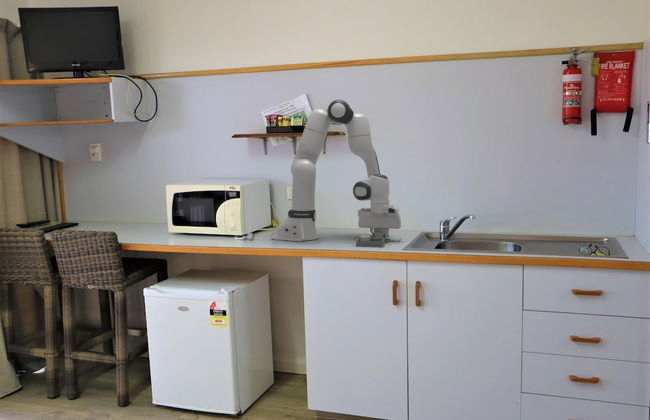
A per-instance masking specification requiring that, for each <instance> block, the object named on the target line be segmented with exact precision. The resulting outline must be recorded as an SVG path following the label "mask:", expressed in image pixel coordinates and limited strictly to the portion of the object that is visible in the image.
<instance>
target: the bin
mask: <svg viewBox="0 0 650 420" xmlns="http://www.w3.org/2000/svg"><path fill="white" fill-rule="evenodd" d="M355 241H356V242H355V247H356V248H357V247H359V248H362V247H363V248H382V249H383V248H384V246H385V245H386V244H385V239H381V238H374V237H370V241H360V237H358V238H357V239H356V240H355Z"/></svg>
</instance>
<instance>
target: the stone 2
mask: <svg viewBox="0 0 650 420" xmlns="http://www.w3.org/2000/svg"><path fill="white" fill-rule="evenodd" d="M383 234H384V232H379V231H376V232H375V238H381V239H384V238H383V237H384V236H383Z"/></svg>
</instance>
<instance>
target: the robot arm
mask: <svg viewBox="0 0 650 420" xmlns="http://www.w3.org/2000/svg"><path fill="white" fill-rule="evenodd" d="M331 125H344V126H345V129H346V131H347V142H348V144H347V145H348V147H349V150H350V152H351V153H353V154H354V155H355V156H358V157H359V158H360V159H362V161H363V162H364V163H365V168H366V172H367V178H366V179H363V180H359V181H357V182H355V184H354V185H353V188H352V193H353V196H354V198H355V199H356V200H358V201H362V202H363V201H364V202H365V201H370V207H369V208H364V207H362V208H360V209H359V210H358V211H357V217H358V223H357V224H358V225H357V226H358V228H359V229H362V228H363V229H369V231H370V233H371V238H375V233H374V228H386V231H387V232H386V234H383V236H384V237H383V238H387V239H388V237H387V233H388V232H389V231H390V229H391V230H392V229H394V230H395V229H396V230H399V229H401V227H402V220H401V219H402V218H401V215H400V213H399V211H400V210H399V207H397V206H393V205H391V204H390V200H389V197H390V180H389V177H388V176H386V175H385V174H381V172H380V166H379V160H378V156H377V153H376V150H375V148H374V146H373V142H372V134H371V128H370V123H369V120H368V117H367V115H365V114H364V113H362V112H355V113H354V111H353V109H352V108H351V106H350V105H349V104H348V102H347V101H345V100H342V99H335V100H333V101H332V102H330V103H329V105H328V107H327V109H322V108H315V109H314V110H312V111H311V113H310V115H309V117H308V119H307V120H306V123H305V126H304V129H303V132H302V136H301V138H300V141H299V145H298V147H297V150H296V152H295V155H294V158H293V161H292V163H291V167H290V173H291V174H292V187H291V189H292V191H291V209H289V210H288V211H287V216H288V217H287V218H285V219H284V220H283V221H282V222H281V223H279V224H278V226H277V228H276V232H275V234H274V235H272V236H271V239H272V240H277V241H292V242H293V241H294V242H304V241H313V240H317V239H319V236H318V233H317V226H316V221H317V213H316V212H317V211H316V209H315V208H316V207H315V202H316V201H315V197H316V196H315V193H316V180H317V179H316V177H317V174H316V173H317V169H316V166H317V162H318V160H319V157H320V155H321V152H322V151H323V147H324V144H325V141H326V137H327V134H328V131H329V128H330V127H331ZM389 233H390V232H389Z"/></svg>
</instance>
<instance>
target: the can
mask: <svg viewBox="0 0 650 420" xmlns="http://www.w3.org/2000/svg"><path fill="white" fill-rule="evenodd" d="M376 231H379V232H384V234H386V232H387V231H386V228H373V233H375V232H376ZM389 236H390V232H388V233H387V238H388V237H389Z"/></svg>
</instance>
